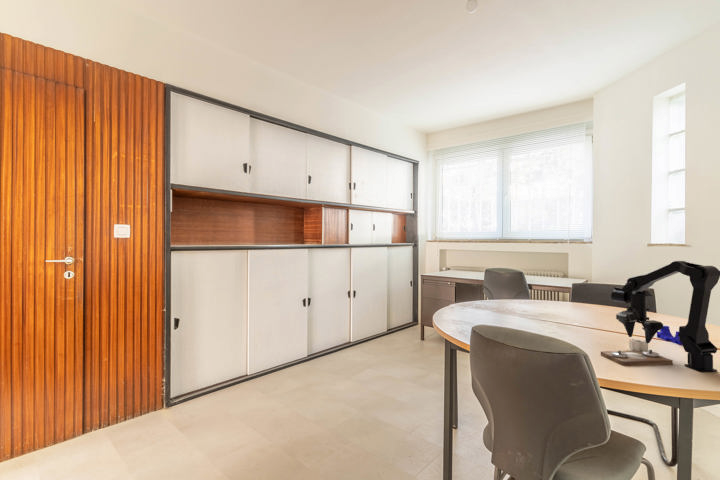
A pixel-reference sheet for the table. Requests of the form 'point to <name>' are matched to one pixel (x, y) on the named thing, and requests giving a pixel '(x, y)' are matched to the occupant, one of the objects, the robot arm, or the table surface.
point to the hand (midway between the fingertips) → (638, 339)
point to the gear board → (636, 358)
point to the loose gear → (638, 345)
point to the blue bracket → (668, 335)
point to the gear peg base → (645, 353)
